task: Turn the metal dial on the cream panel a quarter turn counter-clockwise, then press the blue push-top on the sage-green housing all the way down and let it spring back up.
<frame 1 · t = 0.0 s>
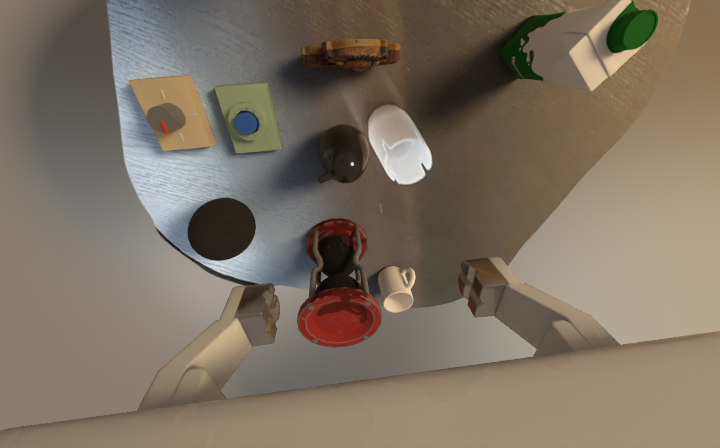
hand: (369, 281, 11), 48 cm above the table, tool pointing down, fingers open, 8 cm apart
button housing: (252, 118, 51), on the table
dial panel: (180, 113, 49), on the table
dial: (166, 118, 45), point 5 cm above the table, hinge at 0.0°
mug: (394, 271, 78), on the table
pump dispenser: (342, 145, 56), on the table
button: (246, 123, 47), point 4 cm above the table, slide at 0.1 cm
milk carton: (522, 49, 49), on the table
wooden carving: (349, 56, 47), on the table
decorative egg: (234, 210, 62), on the table
hourglass: (337, 242, 70), on the table
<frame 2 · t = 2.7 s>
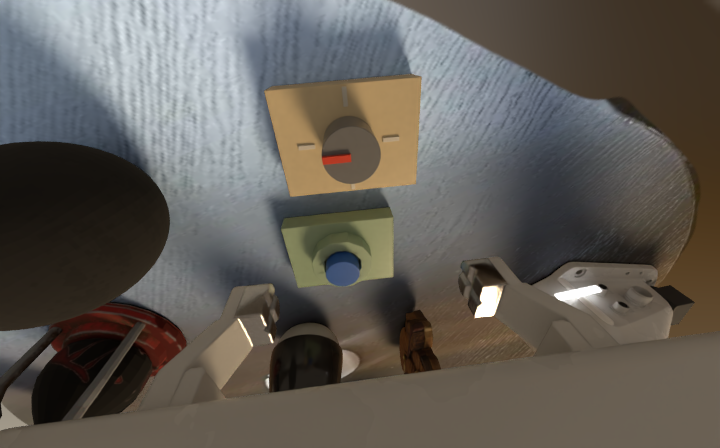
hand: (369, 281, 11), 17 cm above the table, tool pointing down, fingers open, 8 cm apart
button housing: (341, 243, 32), on the table
dial panel: (347, 133, 25), on the table
dial: (350, 150, 21), point 5 cm above the table, hinge at 0.0°
pump dispenser: (309, 331, 41), on the table
button: (342, 269, 28), point 4 cm above the table, slide at 0.1 cm
wooden carving: (408, 330, 43), on the table
decorative egg: (129, 185, 26), on the table
hourglass: (127, 336, 38), on the table
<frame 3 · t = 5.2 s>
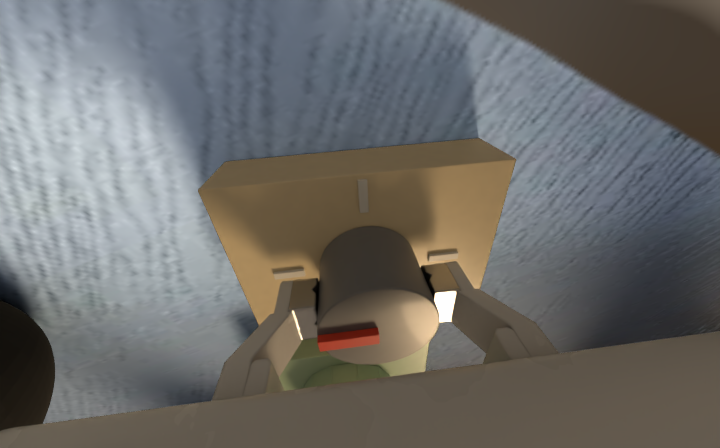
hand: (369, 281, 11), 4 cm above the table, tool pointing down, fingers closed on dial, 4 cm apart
button housing: (346, 358, 22), on the table
dial panel: (360, 228, 15), on the table
dial: (373, 296, 11), point 5 cm above the table, hinge at 0.5°, touching gripper
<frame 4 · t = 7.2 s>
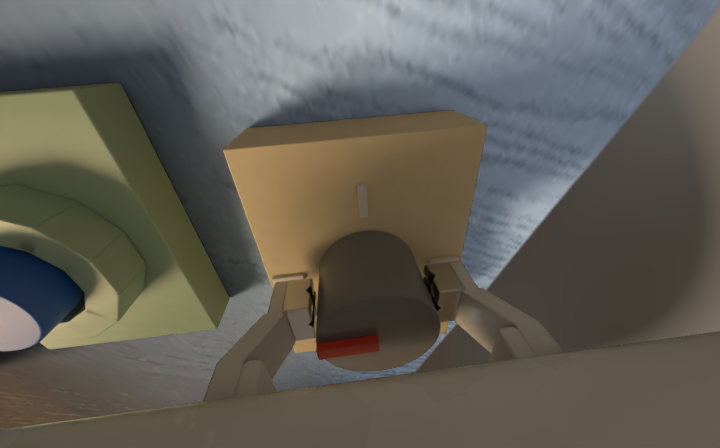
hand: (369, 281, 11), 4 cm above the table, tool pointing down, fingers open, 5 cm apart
button housing: (96, 227, 13), on the table
dial panel: (360, 231, 15), on the table
dial: (372, 302, 10), point 5 cm above the table, hinge at 91.1°
button: (0, 298, 9), point 4 cm above the table, slide at 0.1 cm
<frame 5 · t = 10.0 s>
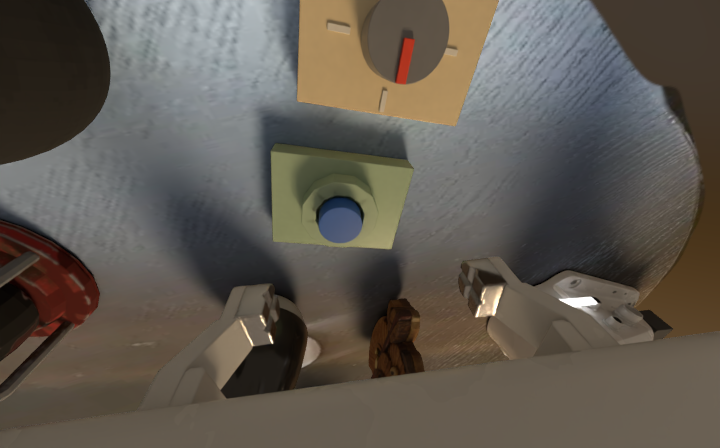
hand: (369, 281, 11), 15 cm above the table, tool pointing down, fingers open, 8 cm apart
button housing: (338, 196, 26), on the table
dial panel: (386, 42, 19), on the table
dial: (401, 39, 15), point 5 cm above the table, hinge at 91.0°
pump dispenser: (269, 306, 34), on the table
button: (340, 220, 22), point 4 cm above the table, slide at 0.1 cm
wooden carving: (384, 323, 38), on the table
decorative egg: (54, 30, 17), on the table
hourglass: (9, 274, 27), on the table
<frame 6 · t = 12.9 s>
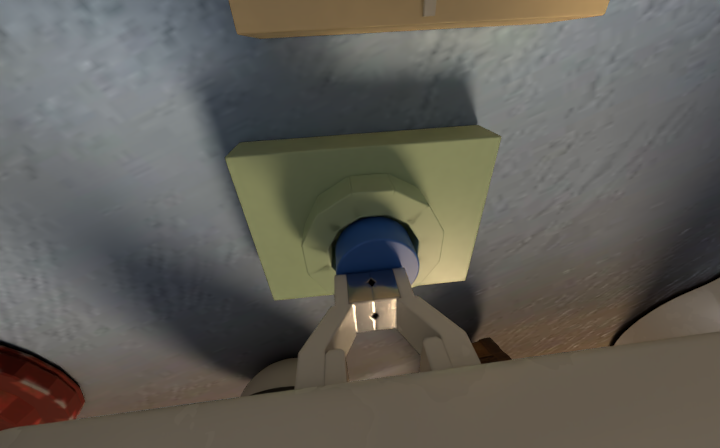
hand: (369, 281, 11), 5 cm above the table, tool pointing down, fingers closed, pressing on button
button housing: (365, 210, 15), on the table
pump dispenser: (298, 369, 25), on the table
button: (375, 259, 12), point 4 cm above the table, slide at 0.0 cm, touching gripper
wooden carving: (457, 366, 27), on the table
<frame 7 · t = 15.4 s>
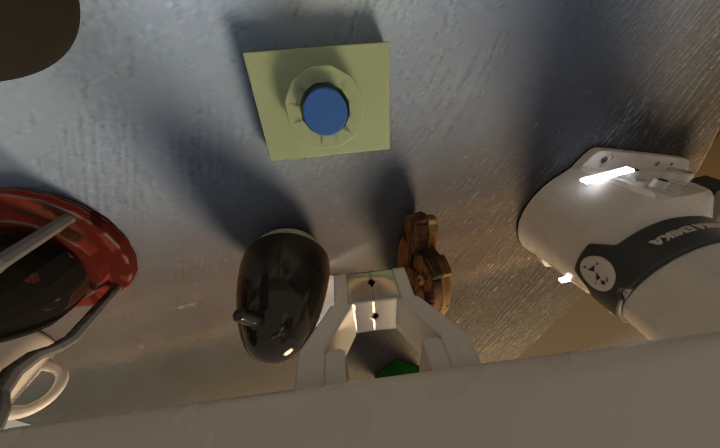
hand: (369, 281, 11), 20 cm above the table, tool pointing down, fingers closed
button housing: (324, 103, 25), on the table
mug: (41, 344, 38), on the table
pump dispenser: (289, 246, 34), on the table
button: (325, 111, 22), point 4 cm above the table, slide at 0.1 cm
milk carton: (396, 370, 55), on the table
wooden carving: (406, 249, 37), on the table
hourglass: (59, 248, 30), on the table
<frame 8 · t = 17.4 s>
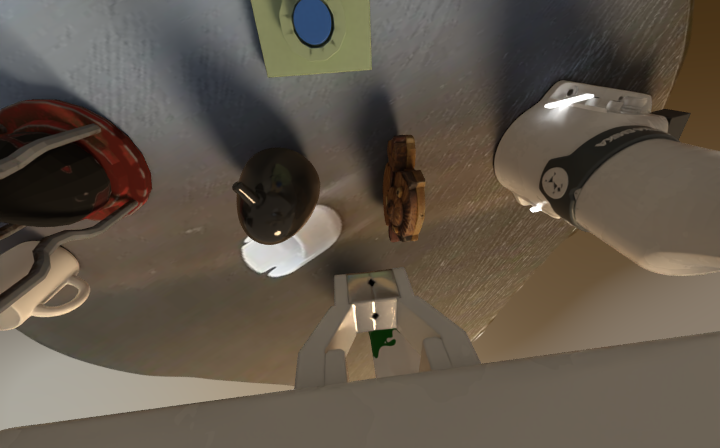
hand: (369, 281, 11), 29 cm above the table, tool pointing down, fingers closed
button housing: (315, 26, 29), on the table
mug: (66, 263, 43), on the table
pump dispenser: (285, 173, 38), on the table
button: (312, 22, 26), point 4 cm above the table, slide at 0.1 cm
milk carton: (386, 315, 59), on the table
wooden carving: (392, 181, 41), on the table
hourglass: (85, 163, 35), on the table
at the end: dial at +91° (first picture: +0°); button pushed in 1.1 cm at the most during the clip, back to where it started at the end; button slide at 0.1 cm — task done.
